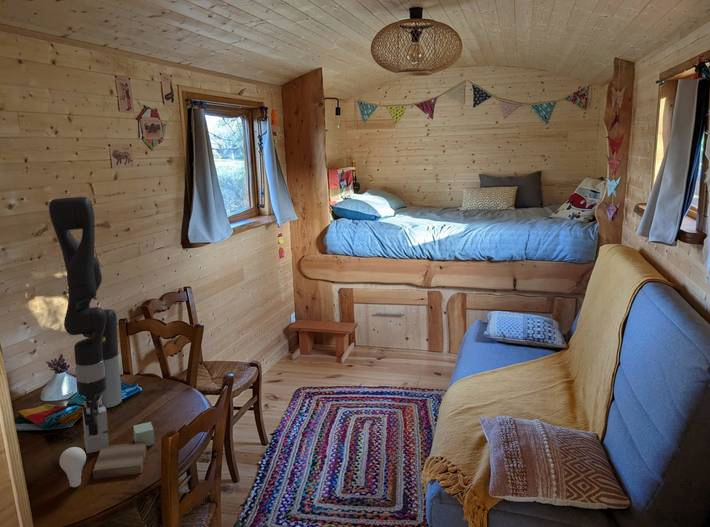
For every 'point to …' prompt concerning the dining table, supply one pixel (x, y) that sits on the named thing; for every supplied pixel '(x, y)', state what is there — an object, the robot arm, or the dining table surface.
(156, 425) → the dining table surface
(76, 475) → the lightbulb
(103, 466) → the beige flat slab
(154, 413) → the dining table surface
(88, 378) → the robot arm
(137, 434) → the sage block
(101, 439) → the skincare box
